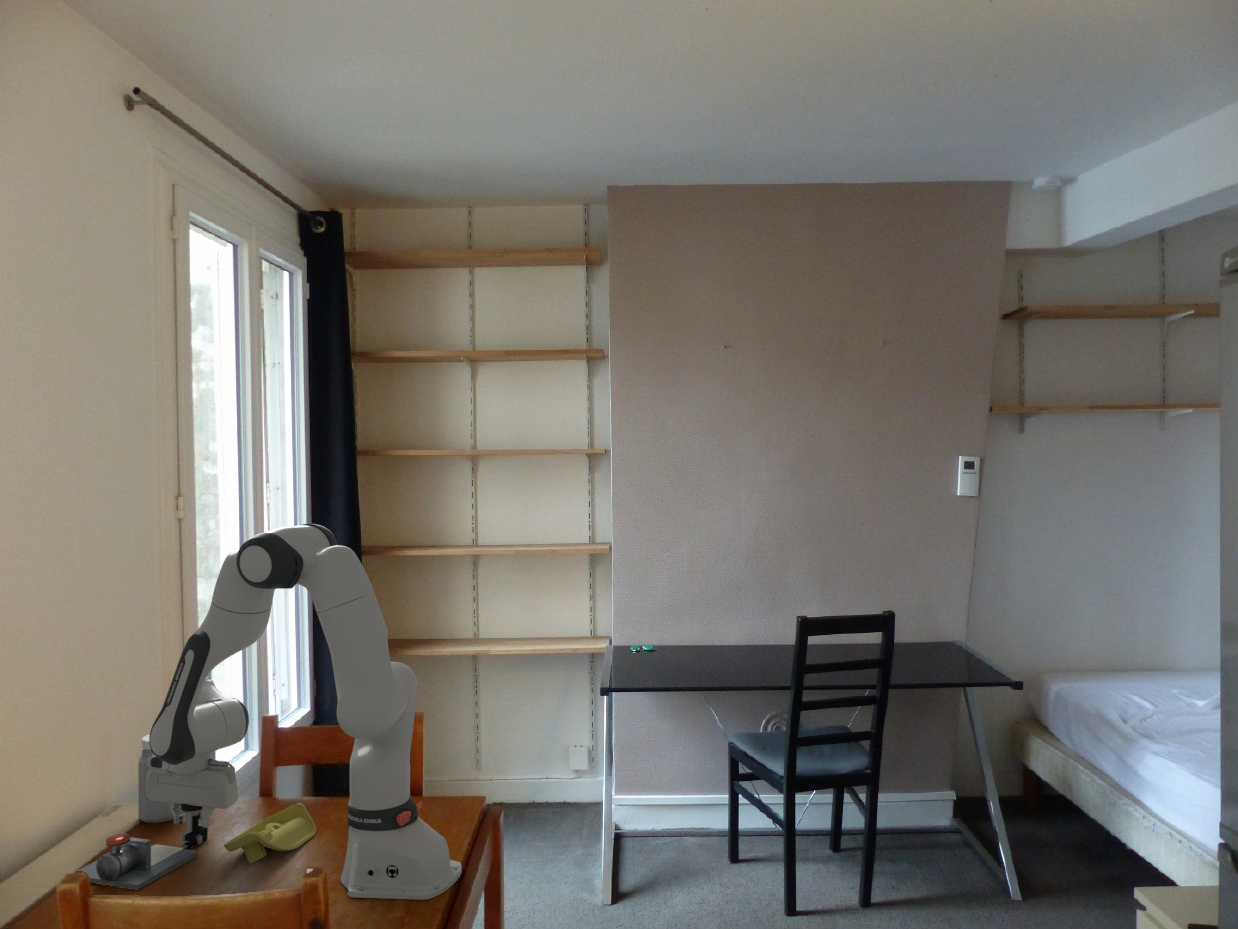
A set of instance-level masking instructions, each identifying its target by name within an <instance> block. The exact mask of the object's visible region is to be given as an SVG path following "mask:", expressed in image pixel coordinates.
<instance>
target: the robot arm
mask: <svg viewBox="0 0 1238 929" xmlns="http://www.w3.org/2000/svg"><path fill="white" fill-rule="evenodd" d="M216 578H217V579H216V582H215V584H214V585H215V586H214V589H213V592H212V598H211V603H210V605H209V606H210V607H209V610H207V614H206V616H205V618H204V620H203V621H202V623H201V624H200V625H199V627H198V629H196V631H195V632H194V633H193V634H192V635H191V636H189V638H188V639H187V641H186V643H185V644H184V647H183V649H182V652H181V654H180V656H179V659H178V663H177V665H176V668H175V671H174V674H173V677H172V679H171V682H170V685H169V688H168V691H167V694H166V696H165V700H164V701H163V705H162V707H161V708H160V711H159V712H158V714H157V716H156V718H155V720H154V722H153V724H152V726H151V729H150V732H149V734H150V736H149V743H150V748H151V750H152V752H153V754H154V755H153V756H151V757H149V758H148V759H147V765H148V767H149V768H150V769H149V770H148V772H147V776H146V795H147V797H148V799H149V800H151V801H159V802H168V803H169V808H170V810H171V812H172V814H173V816H174V819H173V824H175V825H183V824H185V823H187V814H186V812H184V813H183V812H182V809H181V806H180V804H188V805H194V806H202V811H203V812H204V813H203V817H202V818H199V819H198V823H199V824H198V826H199V827H204V828H206V827H207V828H208V827H210V825H211V818H212V815H213V813H214V811H215V810H216V809H220V810H226V809H228V808H230V807H232V806H233V805H235V804H236V803H237V802H238V800H239V789H238V781H237V776H236V768H235V767H234V766H233V765H232V764H231V763H230V761H228V760H219V759H217V758H216V751H218V750H221V749H224V748H228V747H230V746H234V745H235V744H237V743H240V742H241V741H242V740H243V739H244V738H245V737H246V735H247V732H248V730H249V724H250V716H249V711H248V708H247V707H246V705H245V704H244V703H243V702H242V701H241V700H239V699H237V698H235V697H230V696H228V695H226V694H224V693H223V692H221V691H220V690H218V688H217V687H216V685H215V682H214V681H213V679H211V678H208V676H209V675H210V673H211V672H212V671H213V669H215V668H216V667H217V666H218V665H219V664H221V663H222V662H224V661H225V660H227V659H228V658H230V657H231V656H233V655H235V654H238V653H239V652H241V651H243V650H245V649H247V648H249V647H250V646H252V645H253V644H254V643H256V642H257V641H258V640H259V639H260V638H261V637H262V636H263V634H264V633H265V631H266V629H267V627H268V624H269V621H270V616H271V613H272V612H271V611H272V605H273V600H274V596H275V595H274V594H275V591H276V590H277V589H278V590H282V589H284V590H285V589H288V590H291V589H293V588H294V587H295V586H297V585H299V586H301V587H304V588H305V589H306V590H307V592H308V593H309V595H310V598H311V599H312V601H313V606H314V609H315V611H316V615H317V617H318V620H319V623H320V626H321V629H322V632H323V634H324V637H325V640H326V642H327V643H326V644H327V646H328V650H329V652H330V656H331V663H332V669H333V676H334V683H335V684H334V685H335V690H336V697H337V705H336V719H337V723H338V725H339V728H341V730H342V731H343V732H344V733H345V734H346V735H348V736H349V737H352V738H354V744H353V747H352V752H351V756H350V759H349V801H348V802H347V811H346V812H347V813H346V816H347V820H346V822H347V827H348V838H347V846H346V847H347V848H346V854H345V861H344V864H343V868H342V872H341V876H340V882H341V884H342V885H343V886H344V887H345V888H346V889H347V895H348V897H350V898H357V899H359V898H363V899H387V900H388V899H392V900H393V899H395V900H424V901H425V900H430V899H433V898H435V897H437V896H440V895H441V894H442V893H445V891H447V890H449V888H451V887H452V886H453V885H454V884H455V883H456V882H457V881H458V880H459V879H460V877H461V875H462V873H463V872H462V871H463V868H462V864H461V862H460V861H456V860H453V859H451V858H450V856H451V855H450V851H449V846H448V842H447V840H446V839H445V837H444V836H442V835H441V834H440V833H438V831H436V830H435V829H434V828H432V827H431V826H430V825H429V824H428V823H427V822H426V821H424V820H423V819H422V818H421V817H419V812H418V811H419V810H420V809H421V808H422V807H423V805H422V804H423V801H421V800H420V801H419V802H418V803H415V801H414V799H413V797H412V794H411V793H410V792H411V791H410V788H411V786H410V785H411V784H410V783H411V781H410V778H411V776H410V775H411V773H410V772H411V748H412V740H413V732H414V723H415V716H416V714H415V713H416V702H417V701H416V700H417V695H418V687H419V686H418V684H419V682H418V678H417V675H416V673H415V671H414V670H413V668H411V667H410V666H409V665H407V664H406V663H405V662H404V663H403V662H400V661H391V657H390V650H389V641H388V640H389V639H388V638H389V637H388V634H389V632H388V627H387V624H386V622H385V619H384V615H383V613H382V610H381V607H380V605H379V602H378V599H377V596H376V594H375V591H374V588H373V586H372V583H371V581H370V578H369V576H368V574H367V572H366V570H365V567H364V566H363V564H362V563H361V560H360V559H359V557H358V556H357V554H356V552H355V551H354V550H353V549H352V548H350V547H348V546H345V545H338V542H337V538H336V537H335V535H334V534H333V532H332V531H331V530H330V529H328V528H327V527H325V526H323V525H320V524H316V523H303V524H300V525H294V526H292V525H291V526H289V525H288V526H282V527H278V528H274V529H271V530H268V531H266V532H260V533H258V534H255V535H253V536H251V537H250V538H248V539H247V540H246V541H244V542H243V543H242V544H241V545H240V547H239V548H238V549H236V550H233V551H231V552H229V554H227V556H226V557H225V558H224V560H223V563H222V565H221V568H220V570H219V573H218V575H217V577H216Z"/></svg>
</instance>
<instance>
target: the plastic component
mask: <svg viewBox="0 0 1238 929" xmlns="http://www.w3.org/2000/svg"><path fill="white" fill-rule="evenodd" d="M316 834H317V827H316V824H315V822H314V820H313V818H312V816H311V814H310V813H309V811H308V809H307V808H306V806H305V805H304V804H303V803H302V802H298V803H297V802H296V803H295V804H293V805H291V806H289V807H287V808H285V809H283V810H281V811H278V812H277V813H274V814H273V815H270V816H269V817H266V818H264V819H263V820H261V821H260V822H258V823H256V824H254V825H253V826H251V827H250V828H248V829H246V830H245V831H244V832H242V833H240V834H238V835H237V836H235V837H234V838H232V839H231V840H229V841H226V842H225V843H224V844H223V847H224V849H226V850H227V851H228V852H230V853H231V852H234V851H236V850H239V849H242V850H243V851H244V854H245V856H246V859H247V861H248V864H249V863H250V864H253V863H255V862H257V861H258V860H261V859H263V858H264V857H265V856H267V855H268V854H267V852H266V849H265V848H269V849H270V850H271V849H272V850H275V851H279V852H288V851H292V850H295V849H297V848H299V847H300V846H302V845H303V844H305V843H306V842H307V841H309V840H310V839H311V838H313V837H314V836H315V835H316Z"/></svg>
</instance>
